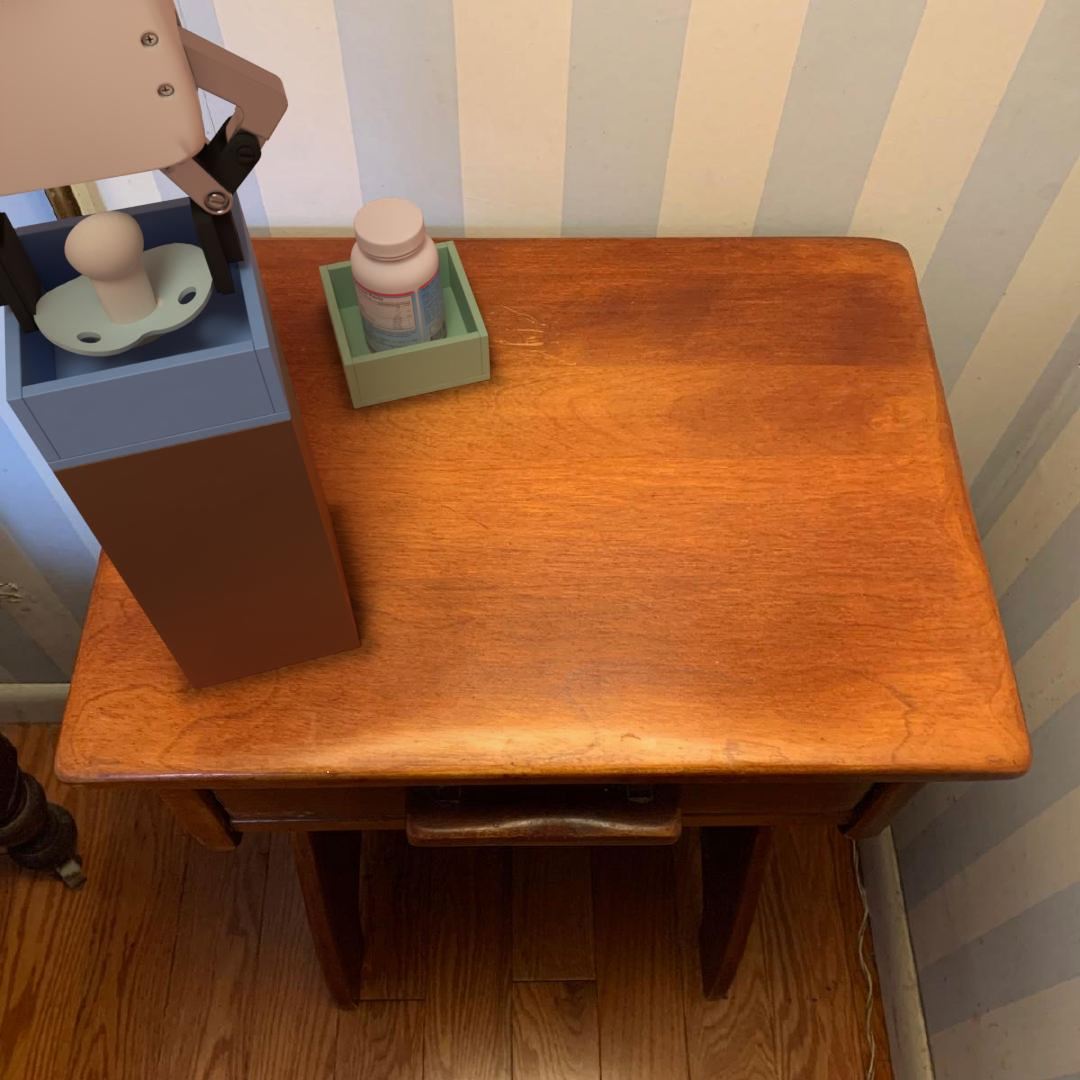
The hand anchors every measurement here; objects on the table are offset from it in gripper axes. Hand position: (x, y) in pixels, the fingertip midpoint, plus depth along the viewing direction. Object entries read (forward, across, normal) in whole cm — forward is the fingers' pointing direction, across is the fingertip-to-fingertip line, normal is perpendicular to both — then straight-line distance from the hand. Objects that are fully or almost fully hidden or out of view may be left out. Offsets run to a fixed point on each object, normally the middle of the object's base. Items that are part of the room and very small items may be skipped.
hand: (129, 288), depth 43 cm
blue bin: (+26, 0, 0) cm, 26 cm away
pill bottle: (+26, -14, -19) cm, 35 cm away
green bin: (+26, -14, -19) cm, 35 cm away
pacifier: (+2, 0, 0) cm, 2 cm away
